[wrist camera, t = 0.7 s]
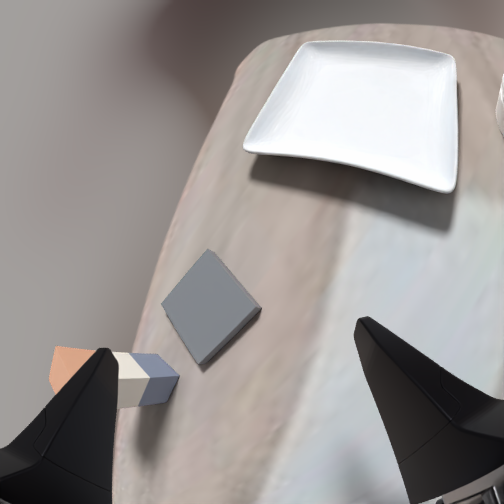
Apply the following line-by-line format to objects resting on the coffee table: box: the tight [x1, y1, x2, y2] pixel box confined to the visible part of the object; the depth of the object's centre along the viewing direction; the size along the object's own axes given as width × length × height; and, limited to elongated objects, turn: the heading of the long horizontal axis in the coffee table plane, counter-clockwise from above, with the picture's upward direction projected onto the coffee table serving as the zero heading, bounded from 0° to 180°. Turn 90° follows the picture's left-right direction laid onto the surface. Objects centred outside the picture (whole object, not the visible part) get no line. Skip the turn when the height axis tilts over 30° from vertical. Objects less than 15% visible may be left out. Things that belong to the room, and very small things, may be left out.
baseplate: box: [161, 249, 261, 364], centre depth 26 cm, size 8×8×1 cm
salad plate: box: [243, 41, 458, 194], centre depth 24 cm, size 21×21×3 cm
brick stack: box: [49, 346, 180, 409], centre depth 21 cm, size 4×4×13 cm
